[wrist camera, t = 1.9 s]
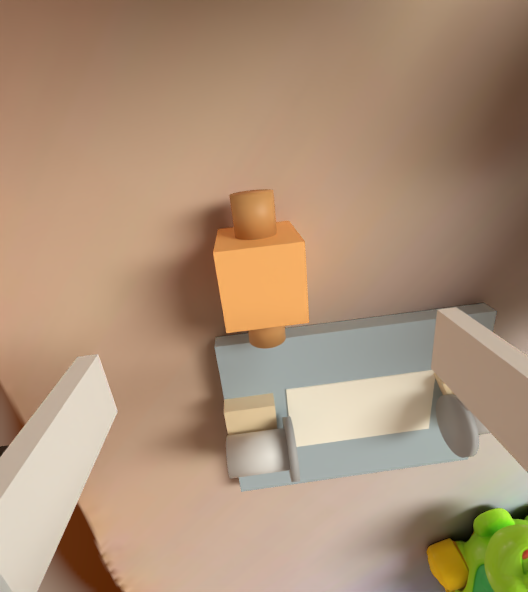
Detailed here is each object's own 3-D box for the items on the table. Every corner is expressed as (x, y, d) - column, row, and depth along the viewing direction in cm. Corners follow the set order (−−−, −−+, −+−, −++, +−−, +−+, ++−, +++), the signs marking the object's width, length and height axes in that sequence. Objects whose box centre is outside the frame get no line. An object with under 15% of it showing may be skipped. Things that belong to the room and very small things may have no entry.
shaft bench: (215, 337, 27) (210, 393, 21) (498, 301, 28) (574, 344, 22) (241, 477, 33) (242, 552, 27) (470, 445, 34) (522, 510, 28)
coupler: (232, 323, 27) (232, 367, 21) (212, 191, 23) (205, 205, 17) (295, 315, 27) (311, 357, 21) (286, 183, 23) (302, 194, 17)
